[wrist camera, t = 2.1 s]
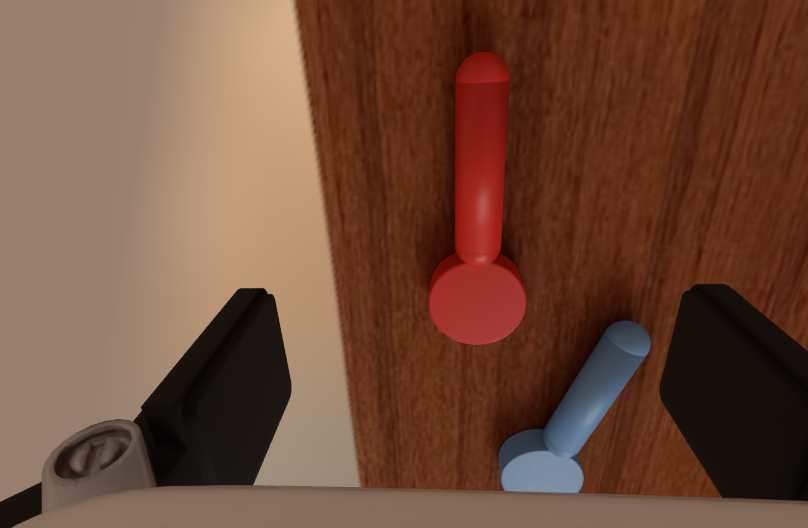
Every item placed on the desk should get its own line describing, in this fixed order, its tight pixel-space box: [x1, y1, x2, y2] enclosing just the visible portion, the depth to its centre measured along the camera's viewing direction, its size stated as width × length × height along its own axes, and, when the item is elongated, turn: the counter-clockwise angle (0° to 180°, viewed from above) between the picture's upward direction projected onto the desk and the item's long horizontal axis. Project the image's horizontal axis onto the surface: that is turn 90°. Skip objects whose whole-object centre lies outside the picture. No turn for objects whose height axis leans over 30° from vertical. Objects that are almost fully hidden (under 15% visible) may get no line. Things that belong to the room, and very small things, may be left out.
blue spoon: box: [498, 320, 650, 493], centre depth 21 cm, size 11×4×2 cm, turn 163°
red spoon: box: [428, 51, 527, 345], centre depth 17 cm, size 11×4×2 cm, turn 3°
